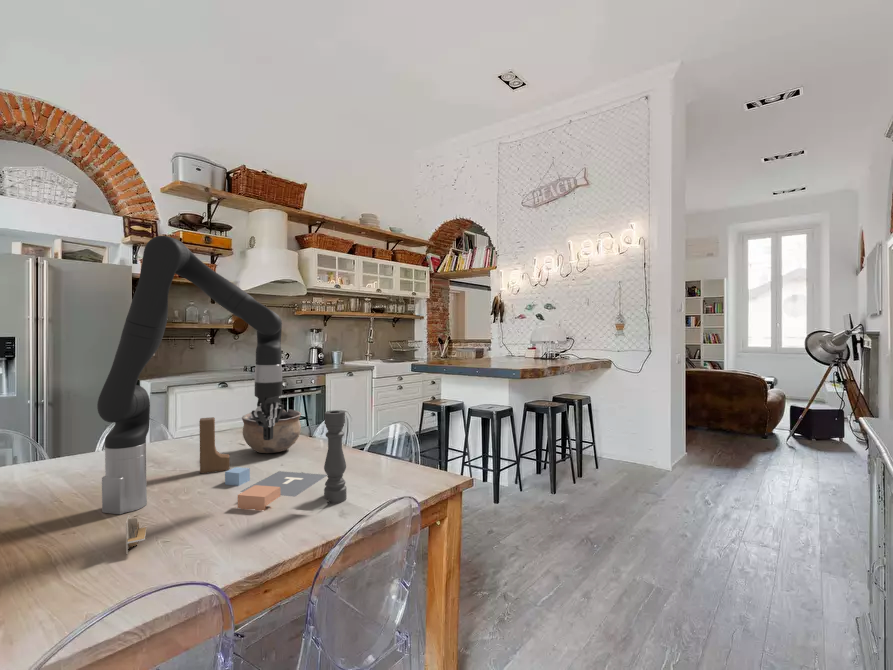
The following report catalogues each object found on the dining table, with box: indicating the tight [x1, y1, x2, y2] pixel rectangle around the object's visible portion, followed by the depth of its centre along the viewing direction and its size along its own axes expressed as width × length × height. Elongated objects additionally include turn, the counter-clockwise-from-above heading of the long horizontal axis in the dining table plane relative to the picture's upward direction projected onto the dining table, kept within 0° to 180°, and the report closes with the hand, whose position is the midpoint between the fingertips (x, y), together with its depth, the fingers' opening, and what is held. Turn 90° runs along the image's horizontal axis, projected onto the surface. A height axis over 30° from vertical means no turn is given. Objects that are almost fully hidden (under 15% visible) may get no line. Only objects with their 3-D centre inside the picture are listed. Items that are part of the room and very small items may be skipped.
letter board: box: [240, 470, 328, 497], centre depth 144 cm, size 20×18×1 cm
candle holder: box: [323, 409, 348, 505], centre depth 133 cm, size 6×6×25 cm
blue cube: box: [224, 466, 251, 487], centre depth 145 cm, size 5×5×5 cm
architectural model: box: [125, 513, 147, 555], centre depth 104 cm, size 3×7×7 cm, turn 30°
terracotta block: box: [237, 485, 281, 511], centre depth 130 cm, size 8×8×4 cm
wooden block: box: [199, 417, 231, 474], centre depth 160 cm, size 9×4×18 cm, turn 115°
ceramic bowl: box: [241, 408, 302, 454], centre depth 185 cm, size 22×22×15 cm
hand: (268, 439), depth 135 cm, fingers closed
